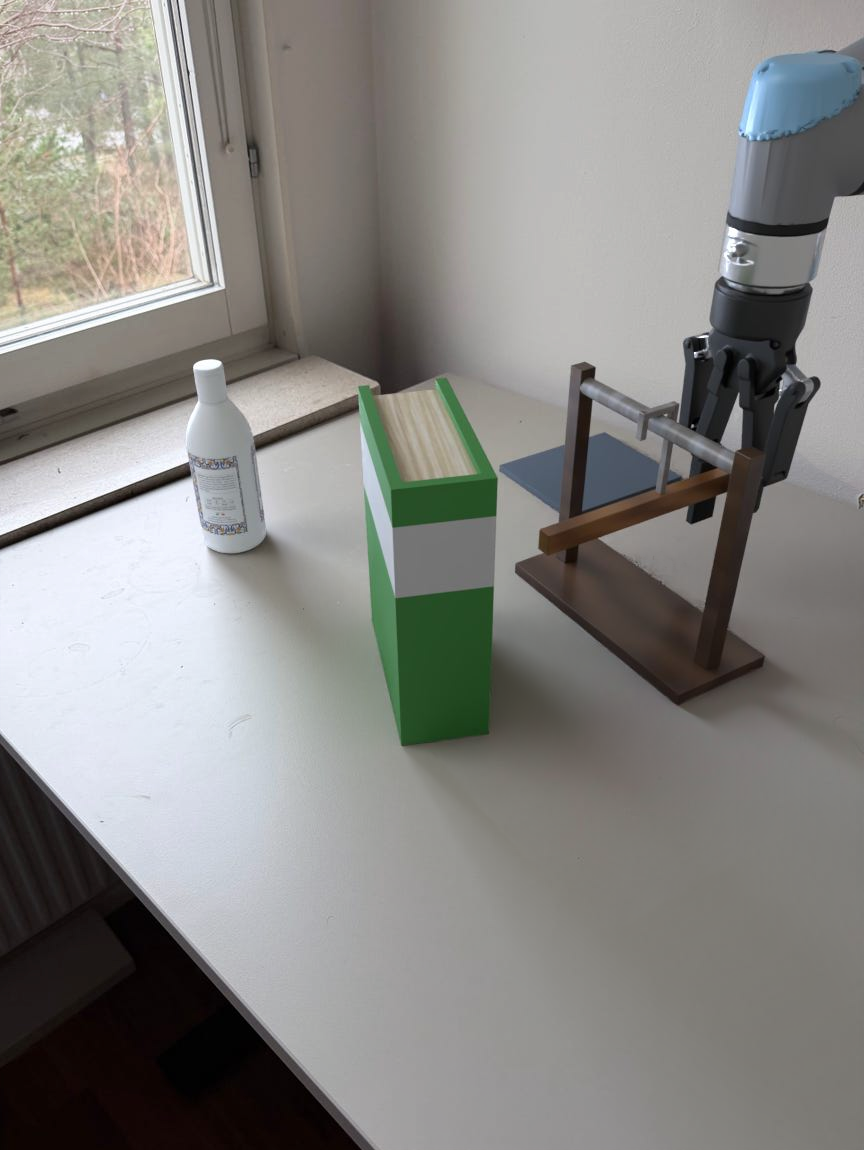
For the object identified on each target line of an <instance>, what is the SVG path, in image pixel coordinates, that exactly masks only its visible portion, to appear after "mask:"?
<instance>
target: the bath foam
mask: <svg viewBox="0 0 864 1150" xmlns="http://www.w3.org/2000/svg"><path fill="white" fill-rule="evenodd" d="M192 368H193V369H192V370H193V374H194V375H193V376H194V382H195V388H196V393H197V398H198V401H197V403H196V405H195V407H194V409H193V411H192V413H191V415H190V418H189V421H188V423H187V427H186V434H185V444H186V447H185V448H186V452H187V458H188V463H189V469H190V475H191V481H192V486H193V490H194V496H195V501H196V508H197V513H198V518H199V523H200V524H199V525H200V527H201V534H202V538H203V542H204V544H205V546H207V547H208V548H209V549H211V550H213V551H215V552H218V553H221V554H239V553H244V552H248V551H251V550H253V549H254V548H256V547H258V546H259V545H261V543H263V541H264V539H266V535H267V526H266V519H265V510H264V503H263V495H262V489H261V481H260V473H259V465H258V459H257V451H256V445H255V443H256V442H255V438H254V435H253V431H252V427H251V425H250V423H249V421H248V420H247V417H245V414H243V412H242V411H241V410H240V408H239V407H238V406H237V404H235V402H233V401H232V400H231V399H230V398H229V396H228V390H227V382H226V376H225V375H226V374H225V368H224V365H223V362H222V361H221V360H218V359H203V360H199V361H197V362H195V363H194V364H193V367H192Z"/></svg>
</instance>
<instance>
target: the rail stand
mask: <svg viewBox="0 0 864 1150" xmlns="http://www.w3.org/2000/svg"><path fill="white" fill-rule="evenodd" d="M596 370H597V367H596V366H595V365H592V364H590V363H588V362H587V361H581V362H578V363H575V364H571V365H570V374H569V386H568V399H567V413H566V422H565V423H566V424H565V436H564V445H565V448H564V461H563V473H562V486H561V498H560V511H559V512H558V523H559V522H562V521H565V520H568V519H571V518H573V517H576V516H579V515H582V507H583V496H584V486H585V476H586V465H587V455H588V444H589V437H590V433H591V423H592V413H593V401H594V402H596V403H598V404H600V405H602V406H604V407H606V408H607V409H609V410H611V411H612V412H615V413H617V414H618V415H620V416H621V417H624V418H626V419H627V420H629V421H631V422H633V423H635V424H637V423H638V416H639V412H640V411H643V410H646V409H650V408H651V407H649V406H647V405H645V404H644V403H642V402H640V401H637V400H636V399H634V398H631V397H630V396H628V395H626V394H625V393H622V392H620V391H619V390H616V389H615V388H612V387H611V386H608V385H606V384H605V383H603V382H601V381H599V380H597V379H595V378H596V372H597V371H596ZM647 431H649V432H651V433H653V434H655V435H657V436H658V437H660V438H662V439H663V438H664V439H666V440H668V441H670V442H671V443H673V445H675V446H677V447H678V448H681V449H683V451H686V452H688V453H689V454H690V453H692V454H693V455H695V456H697V457H699V458H701V459H703V460H704V461H706V462H708V463H710V464H712V465H714V466H715V467H717V468H719V469H721V470H723V471H724V472H726V473H728V474H730V480H729V485H728V490H727V492H726V496H725V500H724V506H723V512H722V516H721V520H720V527H719V531H718V532H719V533H718V536H717V541H716V546H715V551H714V556H713V560H712V561H713V562H712V567H711V572H710V576H709V581H708V587H707V592H706V597H705V601H704V606H703V610H701V609H699V608H698V607H696V606H695V605H694V604H693V603H691V602H689V601H688V600H687V599H685V598H684V597H683V596H681V595H680V594H678V593H676V591H674V590H672V589H671V588H669V586H667V585H666V584H663V582H661V581H660V580H658V579H656V578H655V577H654V576H652V575H651V574H649V572H647V571H645V570H644V569H642V567H639V565H637V564H635V563H634V562H632V560H630V559H628V558H627V557H625V556H624V555H622V554H621V553H619V552H618V551H617V550H615V549H614V548H612V547H611V546H610V545H608V544H607V543H605V542H604V541H602V540H601V539H600V538H597V539H594V540H591V541H588V542H585V543H583V544H580V545H577V546H574V547H571V548H569V549H566V550H563V551H560V552H557V553H554V554H552V555H549V556H547V555H546V554H545V553H543V552H542V553H540V554H537V555H533V556H531V557H528V558H526V559H522V560H520V561H517V562H515V564H514V573H515V574H516V575H517V576H518V577H519V578H521V579H522V580H523V581H524V582H525V583H527V584H528V585H529V586H530V587H532V588H533V589H534V590H536V592H537V593H539V594H540V595H542V596H543V597H544V598H545V599H546V600H547V601H549V602H550V603H551V604H552V605H553V606H555V607H556V608H557V609H559V610H560V611H561V612H562V613H564V614H565V615H566V616H567V617H568V618H570V619H571V620H572V621H573V622H574V623H576V624H577V625H578V626H579V627H580V628H582V629H583V630H584V631H586V632H587V633H588V634H589V635H590V636H592V637H593V638H594V639H595V640H597V642H599V643H600V644H601V645H602V646H604V647H605V648H607V649H608V650H609V651H610V652H611V653H612V654H614V655H615V656H616V657H618V658H619V659H620V660H621V661H622V662H624V664H626V665H627V666H628V667H630V668H631V669H632V670H633V671H635V672H636V673H637V674H638V675H640V677H642V678H643V680H645V681H646V682H648V683H649V684H650V685H652V686H653V687H654V688H655V689H656V690H658V691H659V692H660V693H661V694H663V695H664V696H665V697H666V698H667V699H668V700H670V702H672V703H674V704H675V705H676V706H679V705H681V704H683V703H685V702H687V701H689V700H691V699H694V698H696V697H698V696H700V695H703V694H705V693H707V692H710V691H712V690H714V689H716V688H719V687H720V686H722V685H724V684H726V683H729V682H732V681H733V680H735V679H738V678H740V677H742V676H744V675H746V674H749V673H751V672H753V671H755V670H757V669H760V668H761V667H763V666H764V662H765V658H766V655H765V654H763V652H760V651H759V650H757V648H755V647H753V646H752V645H751V644H749V642H746V641H745V640H744V639H742V638H741V637H739V636H738V635H737V634H735V633H734V632H732V631H731V630H729V625H730V620H731V615H732V611H733V607H734V602H735V598H736V592H737V589H738V583H739V579H740V575H741V570H742V565H743V562H744V556H745V553H746V547H747V543H748V538H749V533H750V529H751V525H752V521H753V516H754V513H753V512H754V507H755V503H756V498H757V493H758V489H759V484H760V480H761V475H762V471H763V466H764V462H765V457H766V453H764V452H762V451H760V450H758V449H756V448H754V447H752V446H748V447H745V448H742V449H741V448H740V449H737V450H735V451H733V450H732V449H729V448H727V447H726V446H725V445H723V444H722V445H720V444H718V443H716V442H714V441H712V440H710V439H708V438H706V437H704V436H703V435H701V434H699V433H697V432H695V431H693V430H691V429H689V428H687V427H685V426H683V425H681V424H680V423H679V421H677V422H676V421H674V420H672V419H670V418H668V417H667V415H665V414H664V415H661V416H658V417H655V418H651V419H649V421H648V428H647Z"/></svg>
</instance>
